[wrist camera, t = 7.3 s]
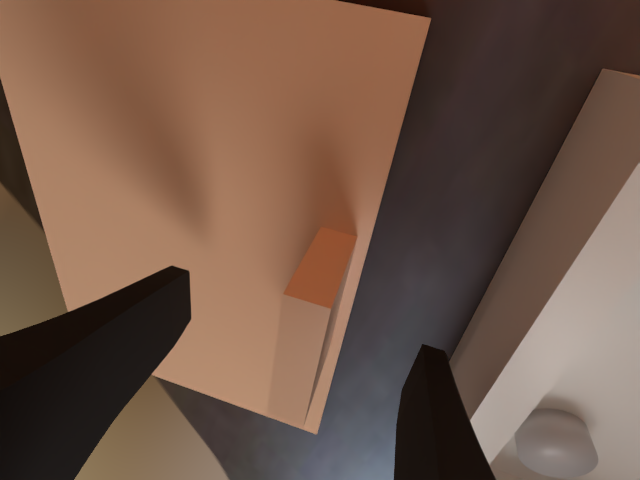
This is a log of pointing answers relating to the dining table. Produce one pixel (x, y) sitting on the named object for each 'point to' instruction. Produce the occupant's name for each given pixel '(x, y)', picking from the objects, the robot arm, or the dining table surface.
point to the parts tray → (566, 312)
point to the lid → (216, 169)
